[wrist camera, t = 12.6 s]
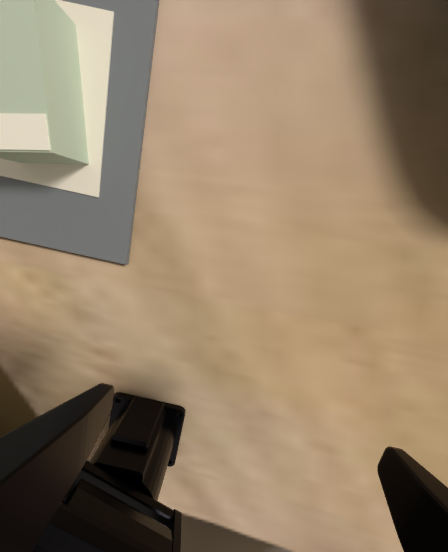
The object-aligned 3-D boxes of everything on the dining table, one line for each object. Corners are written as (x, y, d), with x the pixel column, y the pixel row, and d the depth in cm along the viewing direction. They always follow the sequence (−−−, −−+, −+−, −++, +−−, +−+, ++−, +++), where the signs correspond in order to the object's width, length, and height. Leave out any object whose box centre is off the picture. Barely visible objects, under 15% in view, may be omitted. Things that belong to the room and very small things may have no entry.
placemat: (128, 263, 20) (125, 265, 19) (-33, 227, 20) (-40, 228, 19) (167, -67, 15) (164, -77, 14) (-50, -113, 15) (-60, -124, 14)
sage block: (75, 24, 16) (28, -30, 12) (88, 164, 17) (51, 152, 14) (-1, 25, 16) (-70, -28, 12) (20, 162, 18) (-34, 150, 14)
